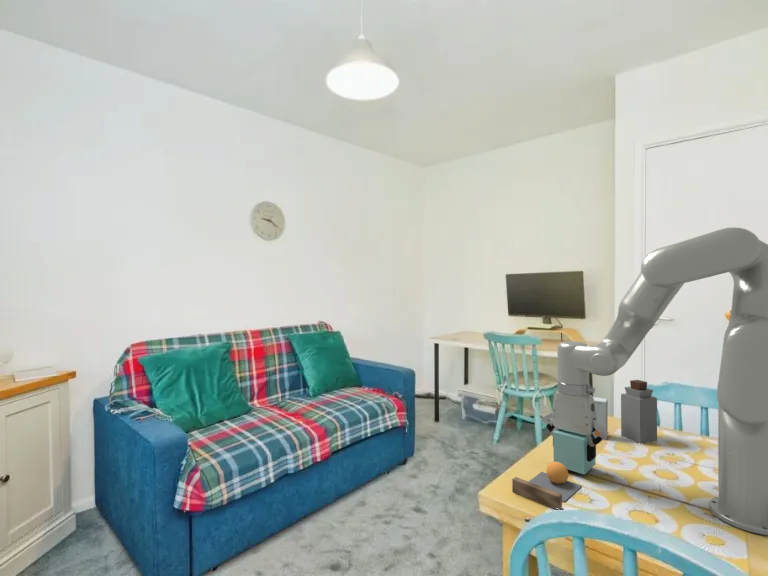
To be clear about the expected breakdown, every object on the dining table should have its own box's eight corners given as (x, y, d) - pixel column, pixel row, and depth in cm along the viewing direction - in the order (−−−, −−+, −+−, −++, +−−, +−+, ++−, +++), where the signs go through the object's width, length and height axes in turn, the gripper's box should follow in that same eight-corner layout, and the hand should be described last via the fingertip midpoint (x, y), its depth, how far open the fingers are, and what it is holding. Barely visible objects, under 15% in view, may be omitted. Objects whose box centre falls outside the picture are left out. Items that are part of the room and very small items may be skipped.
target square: (581, 486, 97) (581, 485, 97) (564, 502, 90) (564, 501, 90) (541, 472, 104) (541, 471, 104) (522, 486, 97) (522, 485, 97)
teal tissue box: (595, 464, 106) (594, 431, 106) (584, 474, 101) (583, 439, 100) (565, 455, 111) (565, 424, 111) (553, 464, 106) (553, 431, 106)
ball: (561, 476, 95) (566, 491, 96) (568, 460, 98) (573, 475, 99) (541, 470, 98) (546, 484, 100) (548, 454, 101) (553, 468, 103)
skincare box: (585, 436, 128) (584, 398, 128) (587, 431, 132) (586, 395, 131) (606, 440, 125) (606, 401, 124) (608, 435, 128) (607, 398, 128)
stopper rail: (562, 507, 88) (561, 494, 88) (558, 510, 87) (558, 496, 87) (515, 489, 96) (515, 476, 96) (512, 491, 95) (512, 479, 95)
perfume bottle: (657, 441, 123) (656, 383, 123) (640, 444, 121) (639, 384, 121) (637, 433, 130) (637, 378, 129) (621, 435, 128) (620, 379, 128)
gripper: (614, 392, 102) (615, 460, 102) (547, 380, 114) (547, 441, 115) (604, 398, 97) (604, 470, 97) (534, 385, 109) (535, 449, 110)
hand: (573, 454), depth 106 cm, fingers closed on teal tissue box, 7 cm apart
